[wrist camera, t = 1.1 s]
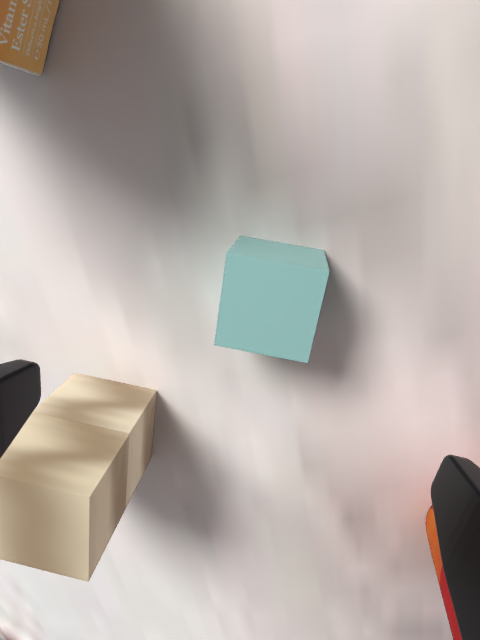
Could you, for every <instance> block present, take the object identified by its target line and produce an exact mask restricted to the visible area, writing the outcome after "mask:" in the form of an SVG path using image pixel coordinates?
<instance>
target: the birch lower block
mask: <svg viewBox="0 0 480 640" xmlns="http://www.w3.org/2000/svg"><path fill="white" fill-rule="evenodd" d="M156 392H157V390H153V389H149V388H144V387H139V386H134V385H130V384H125V383H120V382H116V381H111V380H106V379H101V378H97V377H92V376H87V375H82V374H78V373H73V374H72V375H71V376H70V377H69V378H68V379H67V380H66V381H65V382H63V383H62V384H61V385H60V386H59V387H58V388H57V389H56V390H55V391H54V392H53V393H52V394H51V395H49V396H48V397H47V398H46V399H45V400H44V401H43V402H42V403H41V404H40V405H39V406H38V407H37V408H36V409H34V411H33V412H35V413H40V414H44V415H48V416H53V417H57V418H62V419H66V420H71V421H75V422H80V423H84V424H88V425H93V426H97V427H102V428H106V429H111V430H115V431H120V432H124V433H128V434H130V436H129V453H128V470H127V487H126V504H125V509H126V507H127V505H128V503H129V501H130V499H131V497H132V495H133V493H134V491H135V489H136V487H137V485H138V483H139V481H140V479H141V477H142V475H143V473H144V471H145V469H146V467H147V465H148V463H149V461H150V459H151V453H152V441H153V429H154V417H155V404H156Z"/></svg>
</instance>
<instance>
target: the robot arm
mask: <svg viewBox="0 0 480 640" xmlns="http://www.w3.org/2000/svg"><path fill="white" fill-rule="evenodd" d="M40 397H41V380H40V367H39V365H38V364H37V363H35V362H30V361H26V360H15V361H11V362H7V363H2V364H0V458H1V457H2V456H3V454H4V453H5V452H6V450H7V449H8V447H9V446H10V444H11V443H12V441H13V440H14V439H15V437H16V436H17V434H18V433H19V431H20V430H21V428H22V427H23V425H24V424H25V423H26V421H27V420H28V418H29V417H30V415H31V414H32V412H33V411H34V409H35V408H36V407H37V405H38V403H39V401H40ZM431 499H432V505H433V511H434V518H435V524H436V530H437V536H438V542H439V549H440V555H441V560H442V565H443V570H444V574H445V578H446V582H447V586H448V589H449V593H450V597H451V601H452V604H453V608H454V612H455V615H456V619H457V623H458V626H459V630H460V634H461V637H462V640H480V468H479V467H478V466H477V465H475V464H474V463H473V462H472V461H471V460H469V459H467V458H463V457H458V456H454V455H447V456H446V457H445V458H444V459H443V461H442V463H441V465H440V467H439V470H438V472H437V474H436V476H435V478H434V481H433V483H432V486H431Z"/></svg>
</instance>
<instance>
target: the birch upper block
mask: <svg viewBox="0 0 480 640" xmlns="http://www.w3.org/2000/svg"><path fill="white" fill-rule="evenodd" d="M129 436H130V434H128V433H124V432H120V431H115V430H111V429H106V428H102V427H97V426H93V425H88V424H84V423H80V422H75V421H71V420H66V419H62V418H57V417H53V416H48V415H44V414H40V413H35V412H32V414H31V415H30V417H29V418H28V420H27V421H26V423H25V424H24V425H23V427H22V428H21V430H20V431H19V433H18V434H17V436H16V437H15V439H14V440H13V441H12V443H11V444H10V446H9V447H8V449H7V450H6V452H5V453H4V454H3V456H2V457H1V458H0V559H1V560H5V561H9V562H13V563H17V564H21V565H25V566H29V567H33V568H37V569H41V570H44V571H48V572H52V573H56V574H60V575H64V576H68V577H72V578H76V579H80V580H84V581H88V582H89V580H90V578H91V576H92V574H93V572H94V570H95V568H96V566H97V564H98V562H99V560H100V558H101V556H102V554H103V552H104V550H105V548H106V546H107V544H108V542H109V540H110V538H111V536H112V534H113V532H114V531H115V529H116V527H117V525H118V523H119V521H120V519H121V517H122V515H123V513H124V511H125V504H126V487H127V470H128V453H129Z"/></svg>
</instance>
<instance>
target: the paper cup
mask: <svg viewBox="0 0 480 640" xmlns="http://www.w3.org/2000/svg"><path fill="white" fill-rule="evenodd" d="M426 531H427V536H428V541H429V545H430V549H431V554H432V558H433V562H434V566H435V570H436V574H437V578H438V582H439V586H440V590H441V593H442V597H443V601H444V605H445V609H446V613H447V617H448V620H449V624H450V628H451V632H452V636H453V640H462V637H461V634H460V630H459V626H458V623H457V619H456V615H455V612H454V608H453V604H452V601H451V597H450V593H449V589H448V586H447V582H446V578H445V574H444V570H443V565H442V560H441V555H440V549H439V542H438V536H437V530H436V524H435V518H434V511H433V505H432V506H431V508H430V509H429V511H428V513H427V516H426Z"/></svg>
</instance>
